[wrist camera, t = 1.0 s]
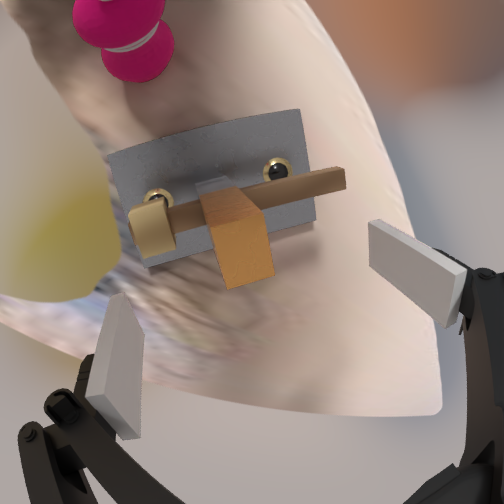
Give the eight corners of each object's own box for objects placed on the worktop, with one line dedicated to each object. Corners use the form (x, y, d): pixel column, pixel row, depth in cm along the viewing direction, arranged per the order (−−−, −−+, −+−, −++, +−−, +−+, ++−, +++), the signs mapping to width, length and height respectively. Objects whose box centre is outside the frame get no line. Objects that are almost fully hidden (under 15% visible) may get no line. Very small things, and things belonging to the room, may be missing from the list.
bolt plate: (110, 154, 30) (106, 155, 29) (294, 109, 33) (300, 108, 32) (145, 263, 36) (144, 269, 35) (311, 216, 39) (317, 220, 38)
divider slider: (192, 176, 32) (210, 227, 16) (219, 169, 32) (263, 213, 17) (201, 211, 33) (227, 289, 18) (227, 204, 34) (275, 275, 18)
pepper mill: (185, 66, 28) (198, -6, 11) (127, 98, 28) (68, 66, 11) (157, 19, 25) (146, -81, 7) (101, 50, 25) (29, -18, 7)
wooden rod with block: (135, 192, 31) (122, 217, 23) (307, 149, 34) (348, 159, 26) (146, 225, 33) (137, 260, 25) (311, 182, 36) (352, 201, 27)
